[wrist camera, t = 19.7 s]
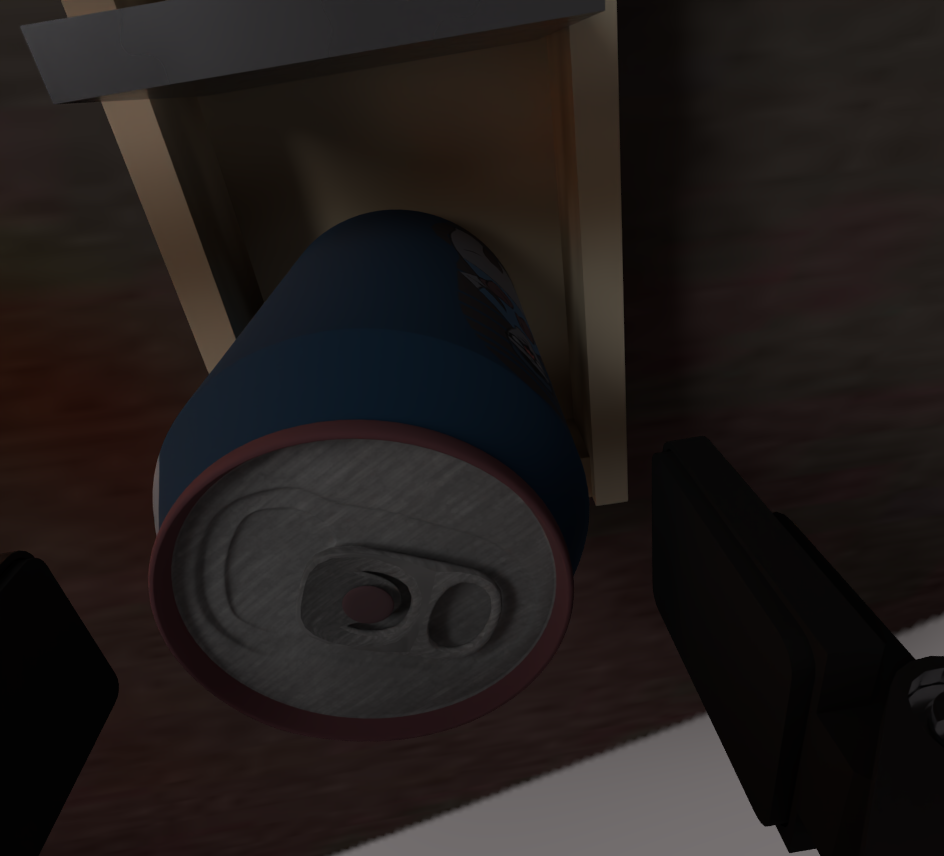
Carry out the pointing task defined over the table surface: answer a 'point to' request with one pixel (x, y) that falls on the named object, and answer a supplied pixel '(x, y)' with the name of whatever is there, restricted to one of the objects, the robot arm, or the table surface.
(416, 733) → the soda can
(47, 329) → the table surface
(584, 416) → the wooden tray
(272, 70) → the follower
